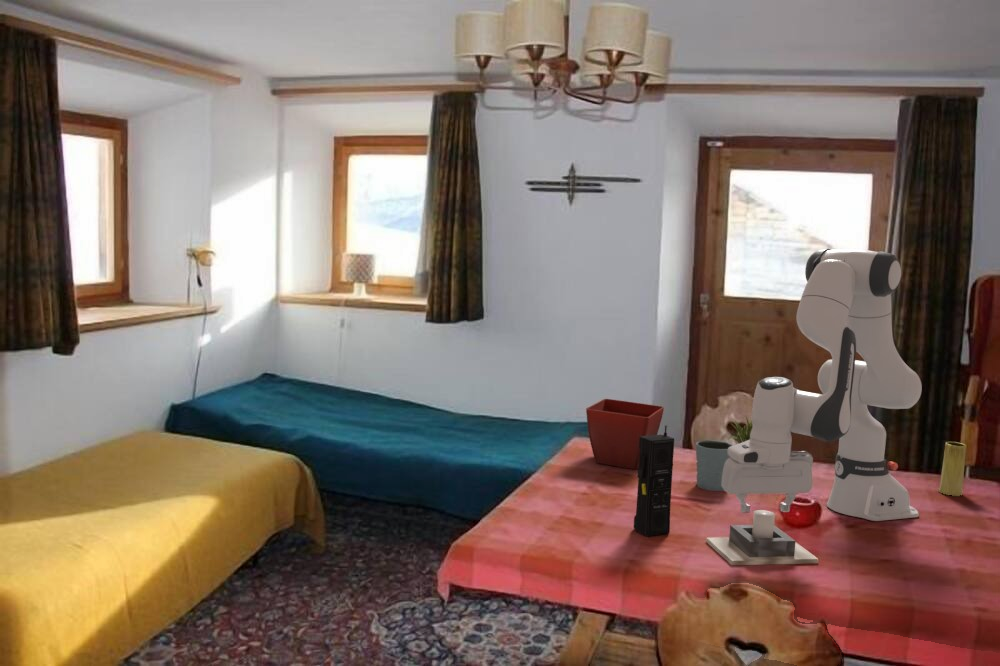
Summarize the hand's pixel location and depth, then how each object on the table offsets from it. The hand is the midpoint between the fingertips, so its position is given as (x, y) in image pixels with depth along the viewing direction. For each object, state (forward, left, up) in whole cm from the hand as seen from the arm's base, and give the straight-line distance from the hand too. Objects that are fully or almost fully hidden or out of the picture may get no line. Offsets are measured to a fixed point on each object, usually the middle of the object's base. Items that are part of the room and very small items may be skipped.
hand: (764, 511), depth 203 cm
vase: (-77, -41, -10) cm, 87 cm away
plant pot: (+9, -74, -10) cm, 75 cm away
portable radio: (+21, -14, -10) cm, 27 cm away
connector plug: (0, 0, -8) cm, 8 cm away
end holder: (0, 0, -9) cm, 9 cm away
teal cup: (-9, -49, -10) cm, 50 cm away
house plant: (-27, -64, -10) cm, 70 cm away
